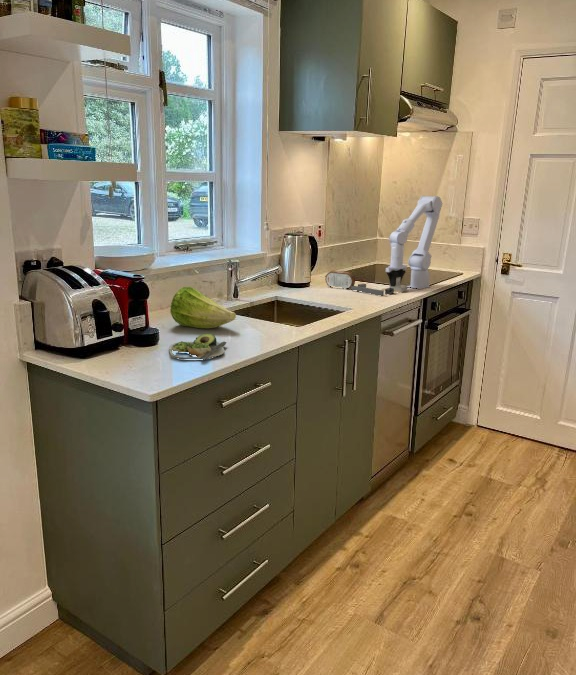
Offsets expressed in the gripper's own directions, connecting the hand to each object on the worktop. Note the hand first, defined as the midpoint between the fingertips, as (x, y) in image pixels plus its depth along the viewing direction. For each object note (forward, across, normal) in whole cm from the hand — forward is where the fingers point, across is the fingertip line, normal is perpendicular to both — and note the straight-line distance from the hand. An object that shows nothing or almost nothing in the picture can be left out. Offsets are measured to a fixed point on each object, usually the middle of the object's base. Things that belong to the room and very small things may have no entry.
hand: (395, 285), depth 276 cm
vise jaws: (+2, +12, -5) cm, 13 cm away
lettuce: (+3, +109, -5) cm, 109 cm away
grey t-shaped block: (+2, 0, +2) cm, 3 cm away
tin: (+3, +15, -22) cm, 27 cm away
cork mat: (+2, 0, 0) cm, 2 cm away
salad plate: (+3, +129, +17) cm, 130 cm away
